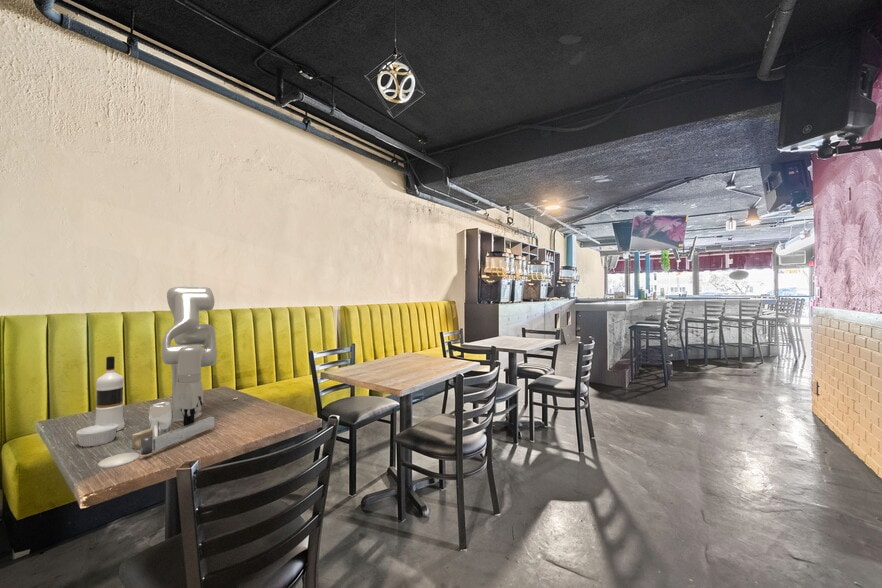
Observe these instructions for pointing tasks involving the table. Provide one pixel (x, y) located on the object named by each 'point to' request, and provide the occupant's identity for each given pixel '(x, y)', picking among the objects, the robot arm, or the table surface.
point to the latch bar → (175, 435)
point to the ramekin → (96, 434)
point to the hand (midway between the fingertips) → (188, 425)
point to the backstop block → (138, 436)
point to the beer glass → (160, 418)
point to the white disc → (118, 460)
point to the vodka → (110, 396)
